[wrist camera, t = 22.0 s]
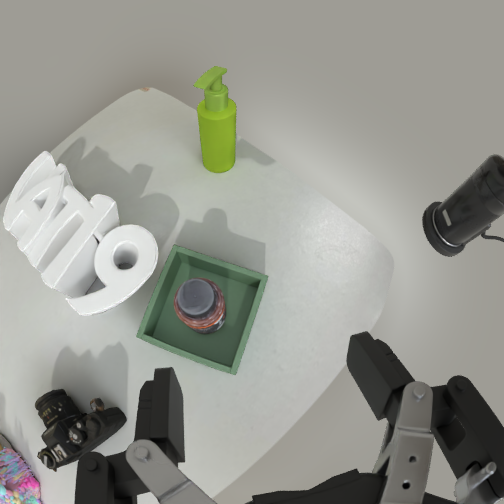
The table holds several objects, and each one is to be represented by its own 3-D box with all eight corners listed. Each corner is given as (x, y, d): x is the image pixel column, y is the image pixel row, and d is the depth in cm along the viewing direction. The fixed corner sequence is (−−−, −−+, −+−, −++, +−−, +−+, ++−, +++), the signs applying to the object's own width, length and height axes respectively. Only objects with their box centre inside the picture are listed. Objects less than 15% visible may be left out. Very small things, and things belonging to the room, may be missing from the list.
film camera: (74, 359, 36) (38, 355, 27) (134, 407, 35) (107, 418, 25) (38, 434, 30) (4, 442, 21) (93, 481, 28) (64, 501, 19)
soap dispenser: (193, 169, 50) (180, 79, 31) (213, 145, 52) (209, 57, 34) (221, 181, 49) (218, 90, 30) (240, 155, 51) (245, 66, 33)
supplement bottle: (233, 323, 40) (234, 309, 29) (196, 341, 38) (182, 334, 28) (215, 286, 41) (208, 260, 31) (178, 304, 40) (159, 284, 29)
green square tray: (264, 286, 43) (268, 275, 38) (235, 373, 38) (235, 375, 33) (180, 257, 43) (173, 244, 39) (147, 339, 38) (135, 336, 34)
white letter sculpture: (17, 225, 43) (-12, 201, 34) (67, 168, 49) (46, 136, 39) (115, 350, 37) (82, 345, 28) (182, 268, 43) (168, 241, 33)
